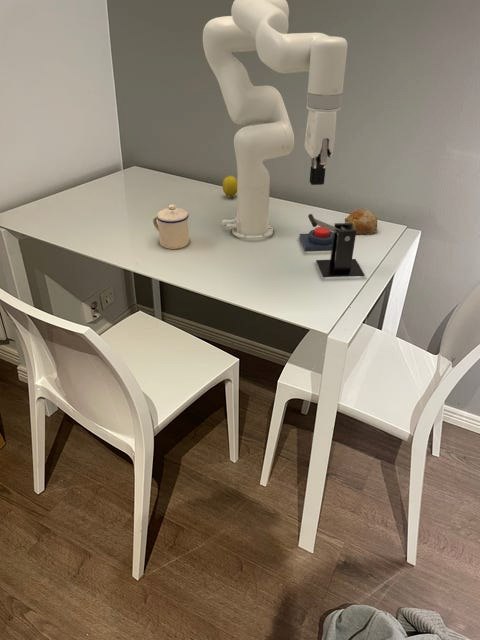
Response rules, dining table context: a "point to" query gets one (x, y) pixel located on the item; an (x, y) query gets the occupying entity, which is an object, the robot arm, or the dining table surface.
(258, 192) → the robot arm
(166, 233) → the teacup with lid
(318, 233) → the button
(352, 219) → the bread roll
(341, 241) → the lever bracket
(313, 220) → the lever
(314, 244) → the button housing
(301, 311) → the dining table surface
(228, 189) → the lemon
